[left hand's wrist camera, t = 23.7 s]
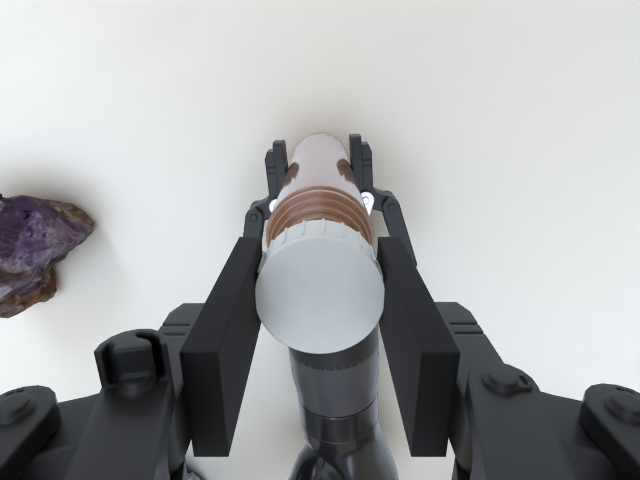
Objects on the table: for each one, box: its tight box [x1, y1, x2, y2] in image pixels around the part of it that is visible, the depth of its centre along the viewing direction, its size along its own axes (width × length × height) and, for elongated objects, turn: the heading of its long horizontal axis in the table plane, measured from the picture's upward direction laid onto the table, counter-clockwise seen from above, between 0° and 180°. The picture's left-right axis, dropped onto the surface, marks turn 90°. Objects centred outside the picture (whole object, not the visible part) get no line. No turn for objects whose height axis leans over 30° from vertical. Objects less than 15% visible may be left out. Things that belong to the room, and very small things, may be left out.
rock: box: [0, 194, 93, 318], centre depth 34 cm, size 12×9×10 cm
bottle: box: [266, 134, 374, 248], centre depth 25 cm, size 5×5×24 cm
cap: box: [255, 218, 385, 354], centre depth 14 cm, size 4×4×2 cm
